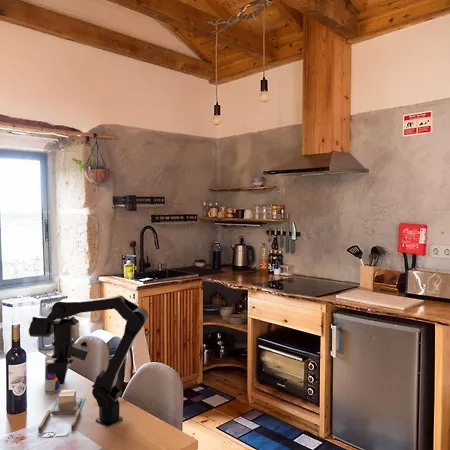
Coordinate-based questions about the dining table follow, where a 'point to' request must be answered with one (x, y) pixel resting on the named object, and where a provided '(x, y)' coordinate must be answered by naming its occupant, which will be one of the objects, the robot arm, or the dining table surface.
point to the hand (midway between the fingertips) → (62, 384)
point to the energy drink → (51, 381)
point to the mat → (79, 406)
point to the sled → (67, 402)
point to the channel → (49, 417)
